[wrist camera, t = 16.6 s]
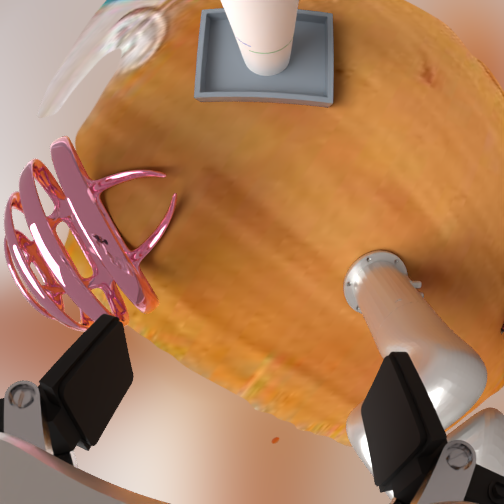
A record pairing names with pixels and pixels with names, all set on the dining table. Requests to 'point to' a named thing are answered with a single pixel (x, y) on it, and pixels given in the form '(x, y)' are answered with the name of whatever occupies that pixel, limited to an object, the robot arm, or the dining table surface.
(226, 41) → the tray
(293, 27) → the cylindrical container
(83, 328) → the spiral basket
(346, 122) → the dining table surface
